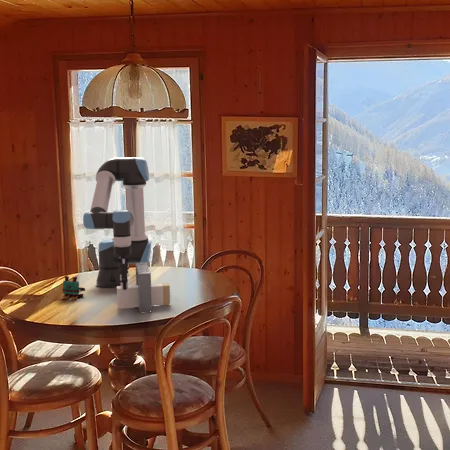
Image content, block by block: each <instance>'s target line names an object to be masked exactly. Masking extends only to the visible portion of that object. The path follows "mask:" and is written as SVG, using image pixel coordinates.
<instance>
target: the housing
mask: <svg viewBox="0 0 450 450" xmlns="http://www.w3.org/2000/svg"><path fill="white" fill-rule="evenodd" d="M151 274H152V273H151V271H150V269H149V266H148V264H147V263H136V264H135V285H138V297H139V307H138V310H139V314H142V313H141V312H148V313H151V312H150V311H152V312H153V307H152V299H151V284H152V275H151Z"/></svg>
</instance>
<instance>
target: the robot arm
mask: <svg viewBox="0 0 450 450" xmlns="http://www.w3.org/2000/svg"><path fill="white" fill-rule="evenodd" d="M147 162H148V161H147V160H146V159H145V158H144V157H134V156H133V157H113V158H110V159H108V160H106V161H104V163H102V164H101V165H100V167H99V168H98V170H97V172H96V175H95V181H96V184H95V188H94V193H93V196H92V197H93V198H92V202H91V206H90V211H88V212H85V213H83V216H82V217H83V218H82V220H83V221H82V223H83V227H84V228H85V229H86V230H87V229H89V230H108V229H109V230H112V232H113V233H112V235H113V238H109V239H108V238H107V239H104V240H101V241H100V242H99V243H98V267H99V268H98V269H99V270H98V273H97V277H96V282H95V283H96V284H95V285H96V286H97V287H99V288H101V287H102V288H117V286H121V288H122V297H128V286H129V283H128V282H129V279H128V273H127V268H128V267H129V265H136V263H149V262H150V259H151V253H152V241H151V240H149V236H147V235H146V226H145V225H146V224H145V201H144V199H145V198H144V197H145V196H144V188H145V187H146V185H147V182H148V181H149V180H150V173H149V167H148V163H147ZM116 182H122V186H123V187H124V188H125V195H126V209H115V210H113V211H108V209H109V205H110V204H109V203H110V199H111V193H112V189H113V185H115V183H116ZM127 264H128V265H127Z"/></svg>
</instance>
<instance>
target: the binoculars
mask: <svg viewBox="0 0 450 450" xmlns="http://www.w3.org/2000/svg"><path fill="white" fill-rule="evenodd" d="M71 278H72V281H71V280H70V276H68V275H64V280H63V281H62V294H63V297H62V298H63V300H64V299H66V300H67V299H70V298H71V300H73V301H74V300H77V299H78V298H81V297H84V293H81V292H85V291H86V288H85V287H80V282H79V281H77V279H78V277H77V276H75V277H71Z"/></svg>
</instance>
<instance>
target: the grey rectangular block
mask: <svg viewBox="0 0 450 450" xmlns="http://www.w3.org/2000/svg"><path fill="white" fill-rule="evenodd" d="M170 292H171V289H170V283H168V282H165V283H151V299H152V306H153V307H155V306H154V305H168V306H170V305H171V293H170ZM116 299H117V309H119V310H121V309H122V308H123V309H133V308H134V307H138V308H139V297H138V285H136V284H133V285H129V284H128V297H122V288H121V286H117V287H116ZM169 304H170V305H169ZM123 309H122V310H123Z"/></svg>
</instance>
